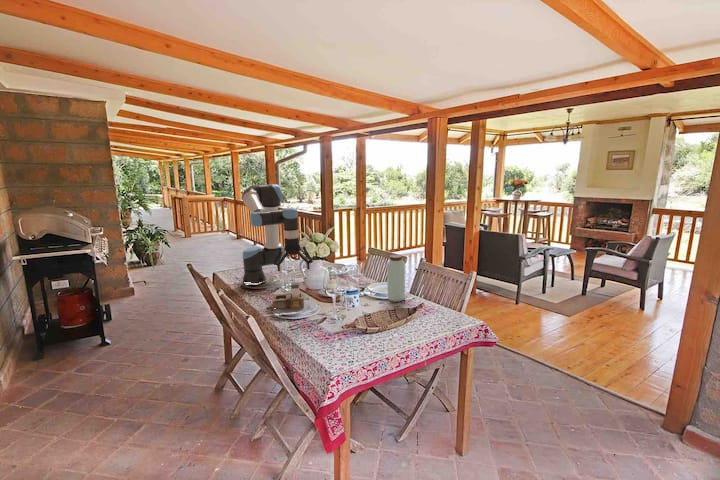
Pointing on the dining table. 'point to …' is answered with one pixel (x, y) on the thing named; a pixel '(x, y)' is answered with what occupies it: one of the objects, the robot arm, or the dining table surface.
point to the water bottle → (396, 278)
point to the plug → (295, 290)
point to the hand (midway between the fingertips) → (294, 276)
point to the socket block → (288, 301)
